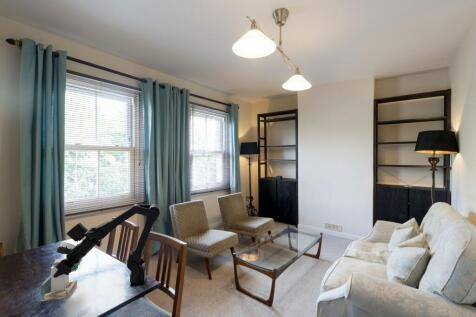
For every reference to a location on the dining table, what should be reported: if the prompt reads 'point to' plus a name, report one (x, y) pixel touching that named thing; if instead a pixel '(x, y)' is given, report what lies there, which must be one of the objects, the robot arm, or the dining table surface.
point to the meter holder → (49, 295)
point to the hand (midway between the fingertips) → (56, 274)
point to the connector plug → (58, 279)
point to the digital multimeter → (76, 265)
